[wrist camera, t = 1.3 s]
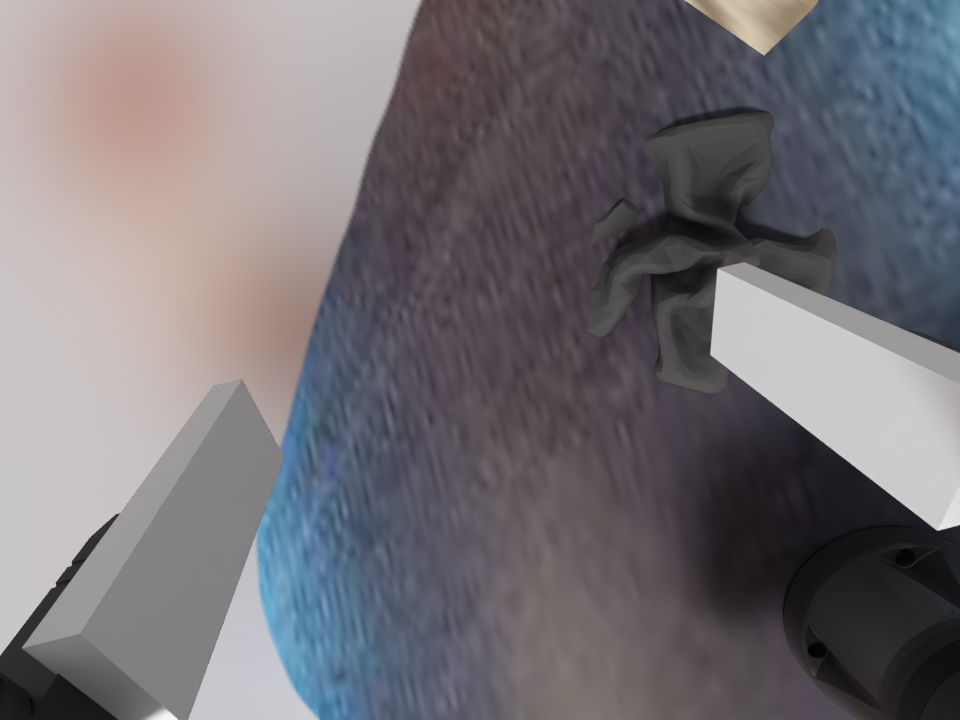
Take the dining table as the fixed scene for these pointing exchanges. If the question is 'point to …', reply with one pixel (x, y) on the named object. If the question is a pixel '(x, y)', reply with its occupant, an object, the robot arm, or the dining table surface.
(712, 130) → the cloth
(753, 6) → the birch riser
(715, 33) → the dining table surface
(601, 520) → the dining table surface
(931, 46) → the dining table surface
